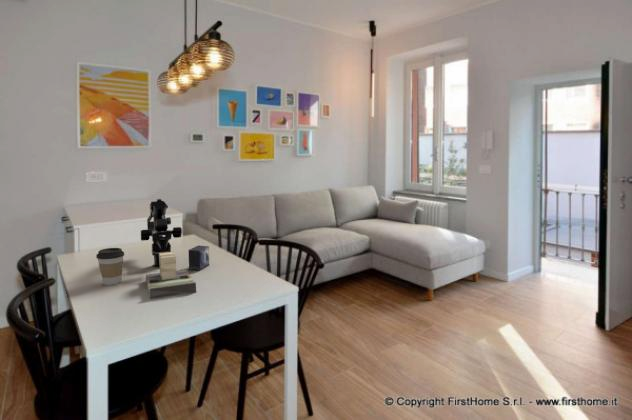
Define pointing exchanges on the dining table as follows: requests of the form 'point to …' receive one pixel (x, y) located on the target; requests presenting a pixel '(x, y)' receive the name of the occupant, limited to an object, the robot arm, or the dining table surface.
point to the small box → (198, 258)
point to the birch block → (167, 265)
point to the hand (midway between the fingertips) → (163, 248)
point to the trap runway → (170, 285)
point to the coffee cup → (111, 265)
